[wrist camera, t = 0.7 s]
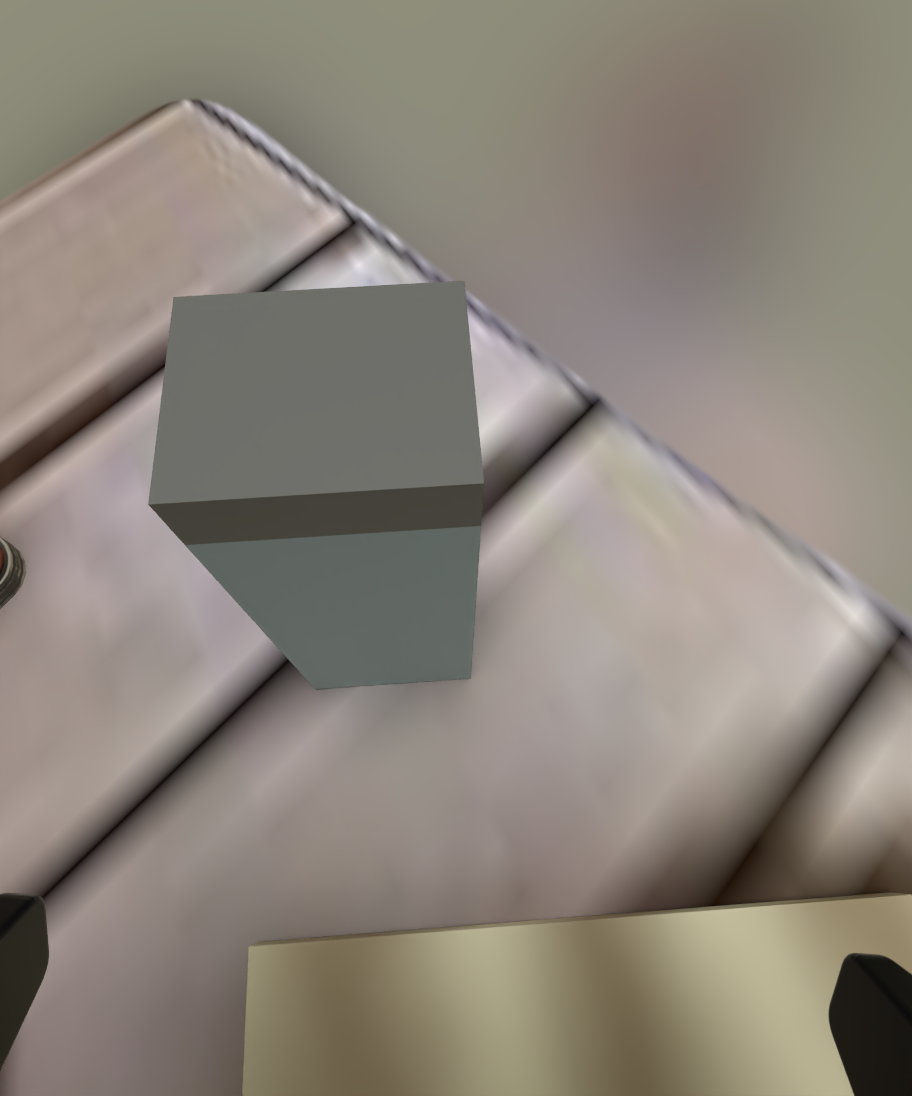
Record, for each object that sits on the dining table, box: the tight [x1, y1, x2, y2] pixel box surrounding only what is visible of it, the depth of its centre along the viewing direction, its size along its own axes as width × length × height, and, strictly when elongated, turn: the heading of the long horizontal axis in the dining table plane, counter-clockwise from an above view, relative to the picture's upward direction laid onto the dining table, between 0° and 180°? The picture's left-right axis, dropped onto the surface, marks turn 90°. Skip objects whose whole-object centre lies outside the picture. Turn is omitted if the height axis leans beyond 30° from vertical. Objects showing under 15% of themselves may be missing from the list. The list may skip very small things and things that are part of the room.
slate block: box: [148, 281, 484, 689], centre depth 17 cm, size 5×4×13 cm
